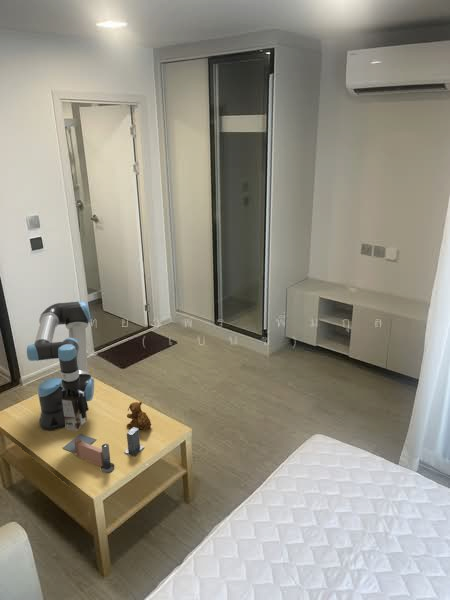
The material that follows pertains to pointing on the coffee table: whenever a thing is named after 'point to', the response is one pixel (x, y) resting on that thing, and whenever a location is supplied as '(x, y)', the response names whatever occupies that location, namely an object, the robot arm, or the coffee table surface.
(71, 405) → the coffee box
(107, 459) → the hinge post
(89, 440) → the mat
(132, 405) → the stuffed squirrel
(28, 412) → the coffee table surface
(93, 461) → the gate
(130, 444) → the post
